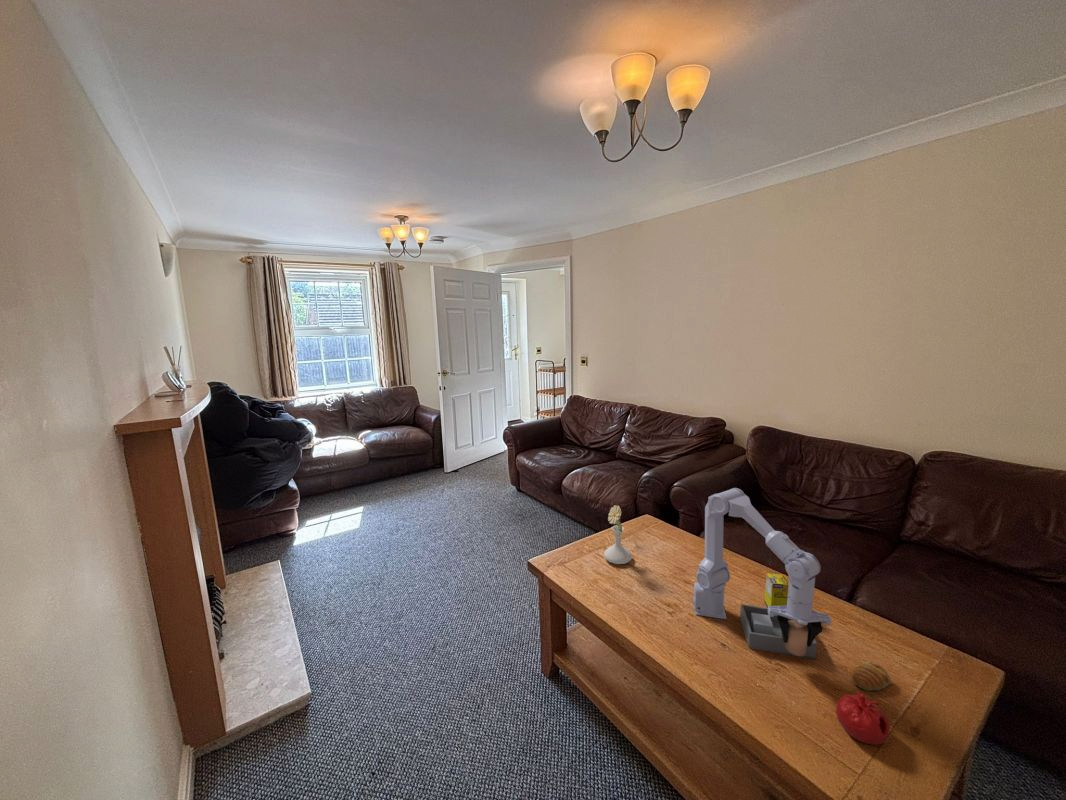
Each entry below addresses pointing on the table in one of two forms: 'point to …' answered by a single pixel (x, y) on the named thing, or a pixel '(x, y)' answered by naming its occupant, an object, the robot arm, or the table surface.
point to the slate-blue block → (761, 624)
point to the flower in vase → (617, 540)
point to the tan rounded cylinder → (797, 638)
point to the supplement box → (776, 590)
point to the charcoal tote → (768, 641)
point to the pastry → (871, 676)
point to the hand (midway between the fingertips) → (796, 642)
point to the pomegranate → (862, 719)
